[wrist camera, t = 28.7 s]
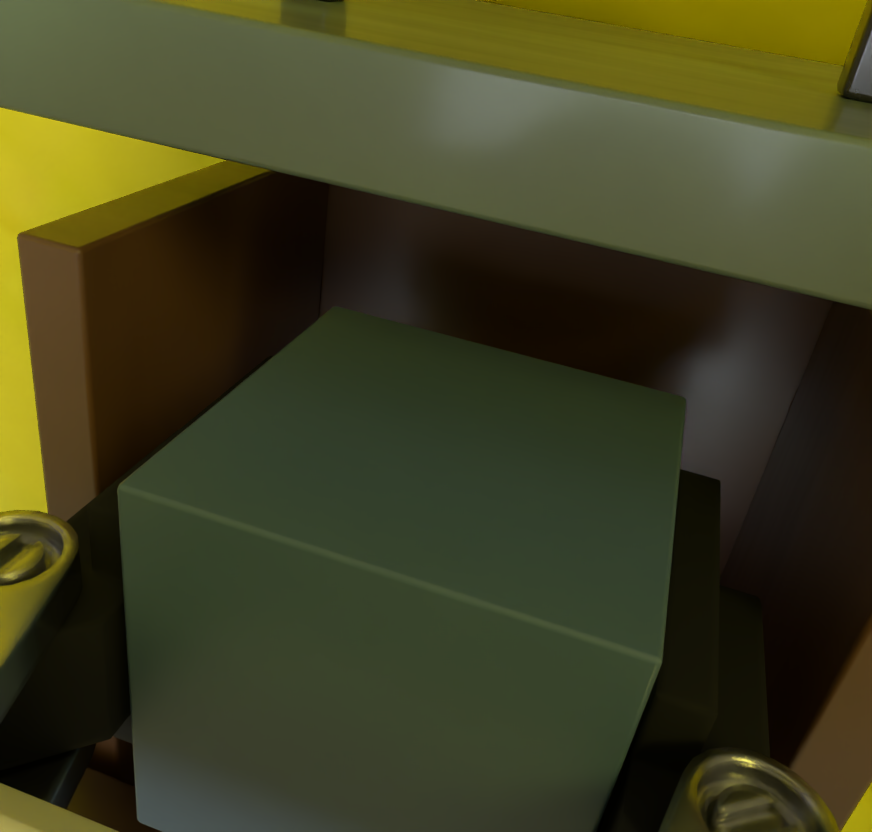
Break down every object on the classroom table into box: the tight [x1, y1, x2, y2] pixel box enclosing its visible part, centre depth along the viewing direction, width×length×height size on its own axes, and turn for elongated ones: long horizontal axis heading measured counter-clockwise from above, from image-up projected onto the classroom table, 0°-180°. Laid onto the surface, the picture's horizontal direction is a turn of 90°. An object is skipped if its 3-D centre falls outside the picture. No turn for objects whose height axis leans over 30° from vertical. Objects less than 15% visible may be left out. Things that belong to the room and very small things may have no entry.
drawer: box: [0, 0, 872, 832], centre depth 11 cm, size 18×11×8 cm, turn 172°
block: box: [117, 306, 686, 832], centre depth 10 cm, size 5×5×5 cm
